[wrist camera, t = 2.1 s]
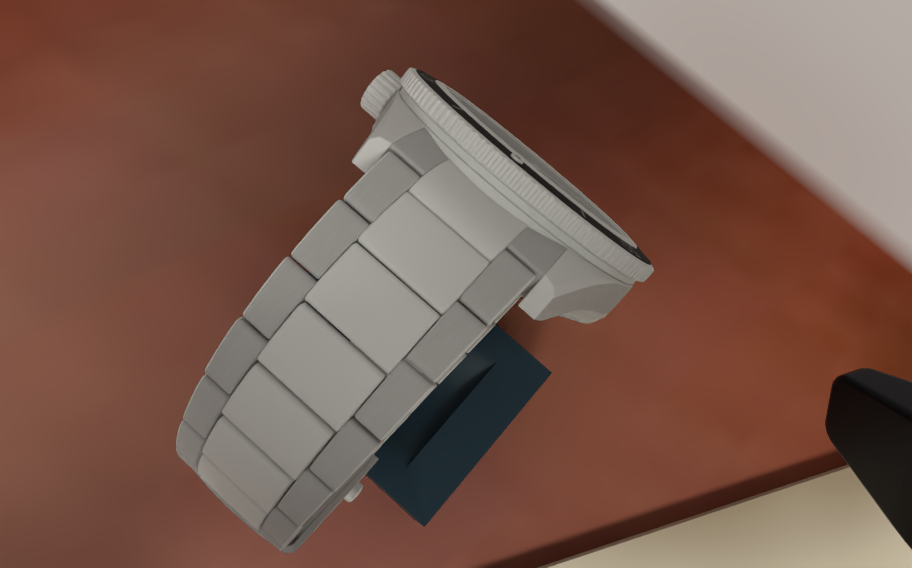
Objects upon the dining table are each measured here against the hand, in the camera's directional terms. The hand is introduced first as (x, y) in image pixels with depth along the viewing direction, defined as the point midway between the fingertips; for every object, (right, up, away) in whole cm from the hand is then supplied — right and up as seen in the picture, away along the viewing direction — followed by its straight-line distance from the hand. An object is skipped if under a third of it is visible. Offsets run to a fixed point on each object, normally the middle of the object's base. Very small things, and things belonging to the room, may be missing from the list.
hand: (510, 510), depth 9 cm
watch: (-2, 0, +11) cm, 11 cm away
